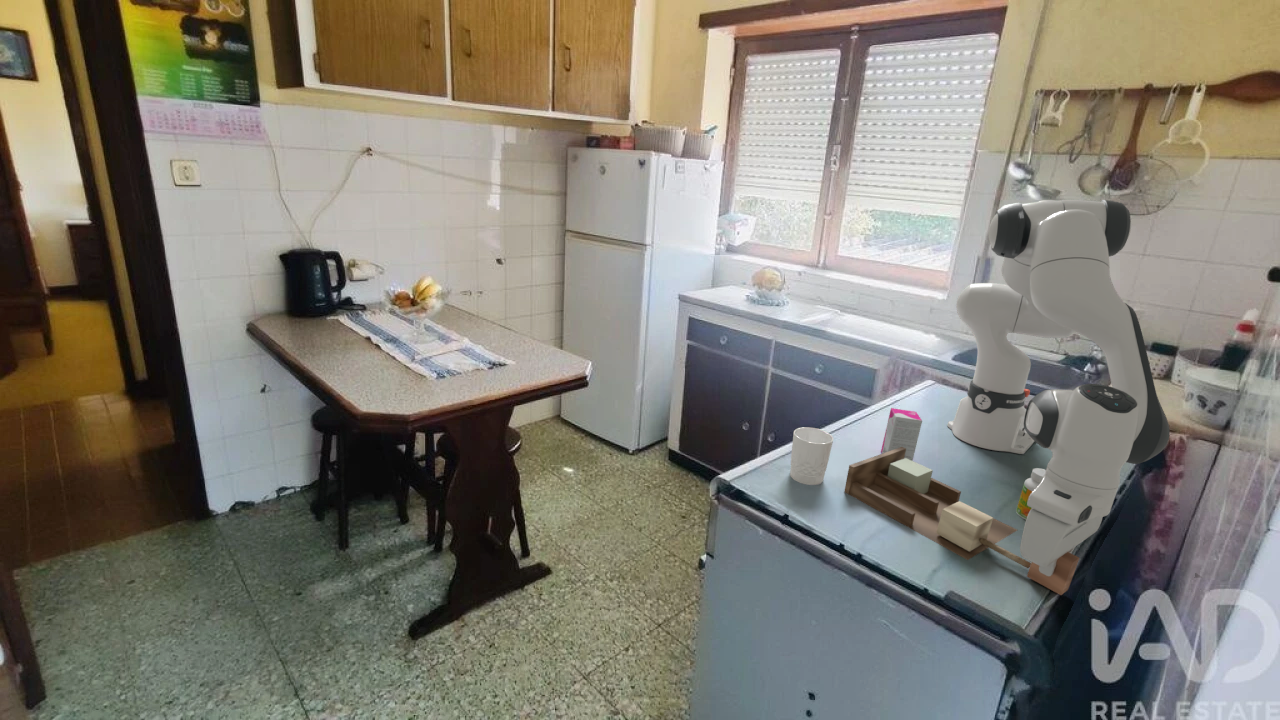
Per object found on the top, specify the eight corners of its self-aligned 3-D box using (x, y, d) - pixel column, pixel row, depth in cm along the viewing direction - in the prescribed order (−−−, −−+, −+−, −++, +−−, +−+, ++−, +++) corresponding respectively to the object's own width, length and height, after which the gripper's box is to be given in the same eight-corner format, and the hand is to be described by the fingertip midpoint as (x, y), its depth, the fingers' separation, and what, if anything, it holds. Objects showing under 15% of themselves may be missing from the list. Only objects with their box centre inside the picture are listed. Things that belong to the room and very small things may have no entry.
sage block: (901, 479, 126) (905, 457, 125) (927, 492, 121) (932, 470, 120) (885, 485, 123) (890, 463, 121) (912, 498, 118) (917, 476, 117)
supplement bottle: (1009, 509, 118) (1021, 465, 115) (1034, 510, 118) (1047, 466, 115) (1028, 525, 112) (1042, 479, 109) (1054, 525, 113) (1069, 480, 110)
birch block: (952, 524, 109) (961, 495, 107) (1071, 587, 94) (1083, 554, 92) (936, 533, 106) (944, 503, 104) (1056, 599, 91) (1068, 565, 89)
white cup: (804, 491, 119) (812, 446, 116) (779, 473, 126) (785, 430, 123) (833, 484, 123) (841, 440, 120) (807, 467, 130) (814, 425, 127)
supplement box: (912, 467, 133) (923, 420, 129) (884, 463, 134) (894, 416, 130) (906, 456, 138) (916, 410, 135) (879, 452, 139) (889, 407, 136)
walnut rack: (896, 473, 129) (901, 446, 127) (1017, 531, 110) (1026, 501, 108) (843, 493, 119) (849, 465, 117) (967, 562, 100) (976, 529, 98)
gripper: (1081, 467, 98) (1058, 539, 102) (1023, 498, 87) (999, 578, 91) (1127, 484, 93) (1100, 559, 97) (1072, 519, 82) (1045, 603, 86)
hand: (1051, 569), depth 94 cm, fingers closed on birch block, 2 cm apart
